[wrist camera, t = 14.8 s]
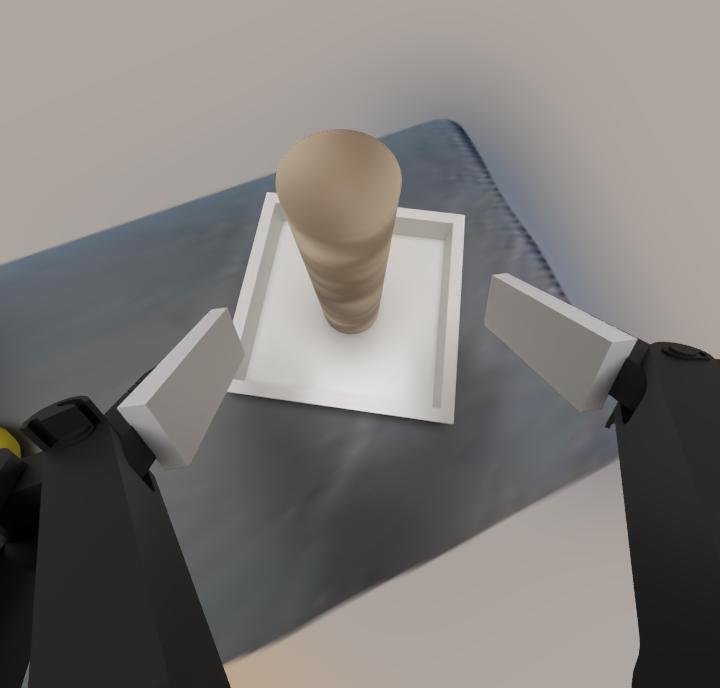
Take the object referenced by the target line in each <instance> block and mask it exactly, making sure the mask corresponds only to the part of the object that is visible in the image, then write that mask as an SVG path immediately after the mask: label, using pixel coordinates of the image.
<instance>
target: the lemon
mask: <svg viewBox="0 0 720 688" xmlns="http://www.w3.org/2000/svg"><path fill="white" fill-rule="evenodd" d="M0 448H8V449H9V450H10V451H12V452H13V453H14V454H15V455H16V456H18V457H19V458H20V459H21V451H20V445H19V444H18V442H17V440H16V439H15V438H14V437H13V436H12V435H11V434H10V433H9V432H8V431H7V430H6V429H3V428H0Z"/></svg>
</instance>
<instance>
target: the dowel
mask: <svg viewBox="0 0 720 688" xmlns="http://www.w3.org/2000/svg"><path fill="white" fill-rule="evenodd" d="M401 184H402V177H401V171H400V167H399V164H398V162H397V160H396V158H395V156H394V155H393V153H392V152H391V151H390V150H389V149H388V148H387V147H386V146H385V145H384V144H383V143H382V142H380V141H379V140H377V139H376V138H374V137H372V136H370V135H367V134H365V133H362V132H358V131H353V130H344V129H335V130H327V131H322V132H318V133H315V134H313V135H310V136H308V137H307V138H304V139H302V140H301V141H299V142H298V143H296V144H295V145H294V146H293V147H292V148H291V149H290V150H289V151H288V152H287V153H286V155H285V156H284V157H283V159H282V161H281V163H280V165H279V167H278V170H277V174H276V192H277V195H278V198H279V201H280V204H281V206H282V209H283V211H284V214H285V216H286V219H287V221H288V224H289V226H290V229H291V231H292V234H293V237H294V239H295V242H296V244H297V247H298V249H299V252H300V254H301V257H302V259H303V262H304V264H305V267H306V269H307V272H308V274H309V277H310V280H311V282H312V285H313V287H314V290H315V292H316V295H317V297H318V300H319V302H320V305H321V307H322V310H323V312H324V315H325V317H326V320H327V321H328V323H329V324H330V325H331V326H332V327H333V328H334V329H335V330H337V331H339V332H341V333H345V334H357V333H361V332H363V331H365V330H367V329H368V328H369V327H371V326H372V325H373V323H374V322H375V320H376V318H377V316H378V312H379V306H380V301H381V295H382V290H383V284H384V279H385V273H386V268H387V262H388V257H389V251H390V246H391V240H392V235H393V229H394V224H395V218H396V213H397V207H398V202H399V196H400V191H401Z"/></svg>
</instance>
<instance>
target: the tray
mask: <svg viewBox="0 0 720 688" xmlns="http://www.w3.org/2000/svg"><path fill="white" fill-rule="evenodd" d="M464 226H465V215H459V214H451V213H442V212H434V211H425V210H416V209H408V208H399V207H397V213H396V218H395V224H394V229H393V235H392V240H391V246H390V251H389V257H388V262H387V268H386V273H385V279H384V284H383V290H382V295H381V301H380V306H379V312H378V316H377V318H376V320H375V322H374V323H373V325H372V326H371V327H369V328H368V329H367V330H365V331H363V332H361V333H357V334H345V333H341V332H339V331H337V330H335V329H334V328H333V327H332V326H331V325H330V324H329V323H328V321H327V320H326V317H325V315H324V312H323V310H322V307H321V305H320V302H319V300H318V297H317V295H316V292H315V290H314V287H313V285H312V282H311V280H310V277H309V274H308V272H307V269H306V267H305V264H304V262H303V259H302V257H301V254H300V252H299V249H298V247H297V244H296V242H295V239H294V237H293V234H292V231H291V229H290V226H289V224H288V221H287V219H286V216H285V214H284V211H283V209H282V206H281V204H280V201H279V198H278V195H277V193H270V192H267V194H266V198H265V201H264V205H263V209H262V213H261V217H260V220H259V224H258V228H257V232H256V236H255V239H254V243H253V247H252V251H251V255H250V258H249V262H248V266H247V270H246V274H245V277H244V281H243V285H242V289H241V293H240V296H239V300H238V304H237V308H236V312H235V315H234V319H233V324H234V326H235V329H236V332H237V334H238V337H239V340H240V342H241V345H242V347H243V350H244V353H245V356H244V358H243V360H242V362H241V364H240V366H239V368H238V370H237V372H236V374H235V376H234V378H233V380H232V382H231V384H230V386H229V388H228V390H227V392H232V393H239V394H246V395H253V396H260V397H267V398H274V399H281V400H288V401H294V402H301V403H308V404H315V405H322V406H329V407H336V408H343V409H350V410H357V411H364V412H371V413H378V414H385V415H392V416H399V417H406V418H413V419H420V420H427V421H434V422H441V423H447V424H454V408H455V390H456V371H457V353H458V335H459V317H460V299H461V281H462V262H463V244H464Z"/></svg>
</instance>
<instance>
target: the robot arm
mask: <svg viewBox="0 0 720 688" xmlns="http://www.w3.org/2000/svg"><path fill="white" fill-rule="evenodd" d="M484 325H485V326H486V327H487V328H489V329H490V330H491V331H492V332H493V333H494V334H495V335H496V336H497V337H498V338H500V339H501V340H502V341H503V342H504V343H505V344H506V345H507V346H508V347H509V348H511V349H512V350H513V351H514V352H515V353H516V354H517V355H518V356H519V357H520V358H522V359H523V360H524V361H525V362H526V363H527V364H528V365H529V366H530V367H531V368H532V369H534V370H535V371H536V372H537V373H538V374H539V375H540V376H541V377H542V378H543V379H545V380H546V381H547V382H548V383H549V384H550V385H551V386H552V387H553V388H554V389H556V390H557V391H558V392H559V393H560V394H561V395H562V396H563V397H564V398H565V399H567V400H568V401H569V402H570V403H571V404H572V405H573V406H574V407H575V408H576V409H578V410H579V411H587V410H594V409H601V408H602V406H603V404H604V403H605V401H606V399H607V397H608V395H611V396H612V397H613V398H615V399H616V400H617V401H618V403H617V405H616V407H615V408H614V410H613V412H612V414H611V416H610V417H609V419H608V421H607V423H606V425H605V427H607V428H610V426H611V424H614V423H615V425H616V433H617V442H618V451H619V460H620V469H621V477H622V486H623V495H624V504H625V512H626V521H627V530H628V538H629V548H630V556H631V565H632V574H633V583H634V591H635V600H636V609H637V617H638V627H639V636H640V649H639V656H638V659H637V662H636V665H635V668H634V671H633V678H632V688H720V359H714V358H713V357H712V356H711V355H709V354H708V353H706V352H704V351H702V350H699V349H697V348H694V347H691V346H687V345H683V344H678V343H671V342H655V343H653V344H648V343H646V342H644V341H642V340H640V339H638V338H636V337H634V336H632V335H630V334H628V333H626V332H624V331H622V330H620V329H618V328H615V327H614V326H612V325H610V324H608V323H606V322H603V321H602V320H600V319H598V318H596V317H594V316H592V315H589V314H587V313H585V312H583V311H581V310H579V309H577V308H575V307H573V306H571V305H569V304H567V303H565V302H563V301H561V300H559V299H557V298H555V297H553V296H551V295H549V294H547V293H545V292H543V291H541V290H539V289H537V288H535V287H533V286H531V285H529V284H527V283H525V282H523V281H521V280H519V279H517V278H515V277H513V276H511V275H509V274H507V273H505V274H497V275H492V278H491V284H490V290H489V296H488V302H487V308H486V314H485V320H484ZM244 356H245V353H244V350H243V347H242V345H241V342H240V340H239V337H238V334H237V332H236V329H235V326H234V324H233V321H232V319H231V316H230V313H229V311H228V308H219V309H211V310H210V311H209V312H208V313H207V314H206V315H205V317H204V318H203V319H202V320H201V321H200V322H199V323H198V324H197V325H196V326H195V327H194V328H193V329H192V330H191V331H190V332H189V333H188V334H187V335H186V336H185V337H184V338H183V339H182V340H181V342H180V343H179V344H178V345H177V346H176V347H175V348H174V349H173V350H172V351H171V352H170V353H169V354H168V355H167V356H166V357H165V358H164V359H163V360H162V361H161V362H160V363H159V364H158V365H157V366H155V367H154V368H152V369H151V370H149V371H148V372H146V373H145V374H144V375H143V376H142V377H141V378H140V379H139V380H138V381H137V382H136V383H135V385H133V386H132V387H131V388H130V389H129V390H128V393H125V394H124V395H123V396H122V397H121V398H120V399H119V400H118V401H117V402H116V403H115V404H114V405H113V406H112V407H111V408H110V409H109V410H108V411H107V412H106V413H105V414H104V415H103V414H102V413H101V412H100V410H99V409H98V408H97V407H96V406H95V404H94V403H93V402H92V401H91V400H90V399H89V397H88V396H76V397H71V398H67V399H65V400H62V401H59V402H56V403H54V404H52V405H50V406H48V407H46V408H44V409H42V410H40V411H39V412H37V413H36V414H34V415H32V416H31V417H30V418H29V419H28V420H27V421H25V422H24V423H23V425H22V426H21V428H20V431H21V432H23V433H24V434H25V435H26V436H27V437H28V438H29V439H30V440H31V441H33V442H34V443H35V444H36V445H37V446H38V447H39V448H40V449H41V450H43V451H42V452H39V453H36V454H33V455H30V456H27V457H24V458H21V459H20V458H19V457H18V456H16V455H15V454H14V453H13V452H12V451H10V450H9V449H8V448H0V688H21V686H22V683H23V680H24V677H25V673H26V670H27V667H28V664H29V661H30V667H29V682H28V688H231V687H230V684H229V682H228V679H227V676H226V673H225V670H224V668H223V665H222V662H221V659H220V657H219V654H218V651H217V648H216V645H215V643H214V640H213V637H212V634H211V632H210V629H209V626H208V623H207V621H206V618H205V615H204V612H203V609H202V607H201V604H200V601H199V598H198V596H197V593H196V590H195V587H194V584H193V582H192V579H191V576H190V573H189V571H188V568H187V565H186V562H185V560H184V557H183V554H182V551H181V548H180V546H179V543H178V540H177V537H176V535H175V532H174V529H173V526H172V523H171V521H170V518H169V515H168V512H167V510H166V507H165V504H164V501H163V499H162V496H161V493H160V490H159V487H158V485H157V482H156V479H155V476H154V475H153V474H152V473H151V471H150V470H149V468H150V467H151V465H152V464H153V462H154V461H155V459H157V460H158V462H159V463H160V464H161V465H162V467H163V468H164V469H165V470H168V469H175V468H182V467H189V466H190V464H191V462H192V460H193V458H194V456H195V454H196V452H197V450H198V448H199V446H200V444H201V442H202V440H203V438H204V436H205V434H206V432H207V430H208V428H209V426H210V424H211V422H212V420H213V418H214V416H215V414H216V412H217V410H218V408H219V406H220V404H221V402H222V400H223V398H224V396H225V394H226V392H227V390H228V388H229V386H230V384H231V382H232V380H233V378H234V376H235V374H236V372H237V370H238V368H239V366H240V364H241V362H242V360H243V358H244Z"/></svg>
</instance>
